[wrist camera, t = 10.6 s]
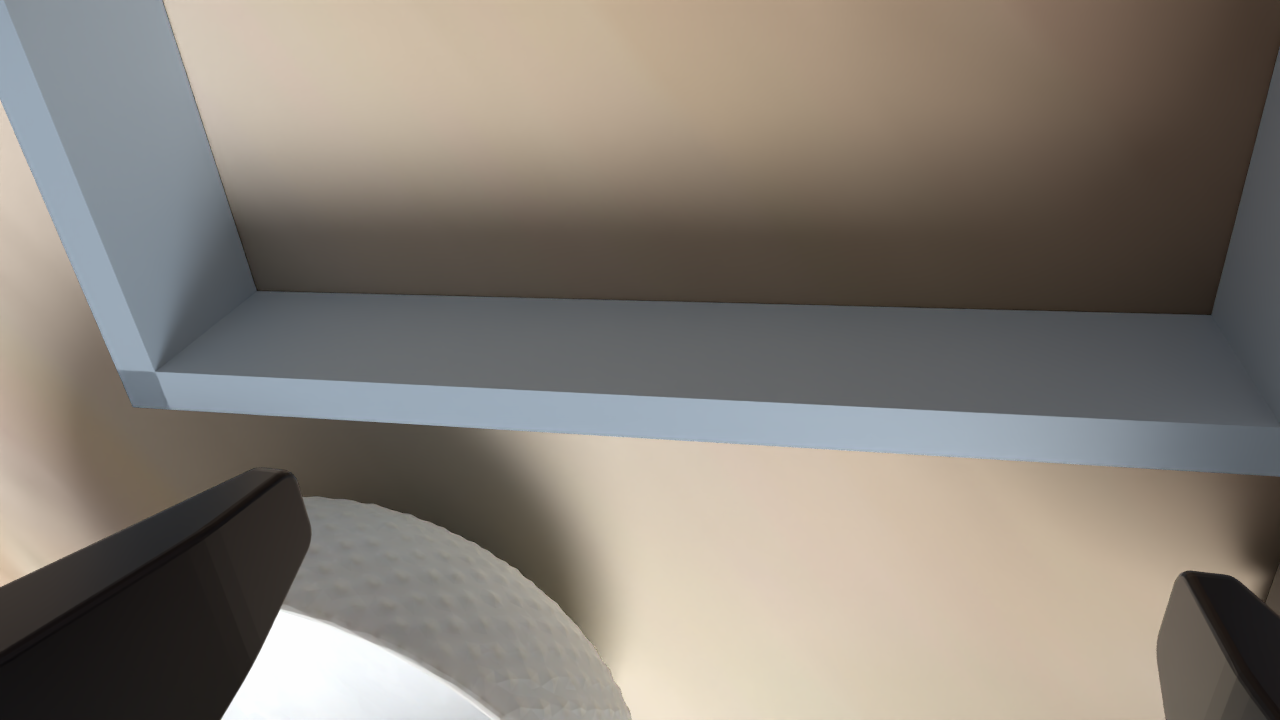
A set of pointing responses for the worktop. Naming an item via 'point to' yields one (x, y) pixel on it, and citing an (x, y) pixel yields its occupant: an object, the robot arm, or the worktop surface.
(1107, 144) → the worktop surface
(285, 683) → the cereal bowl
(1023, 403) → the open box
